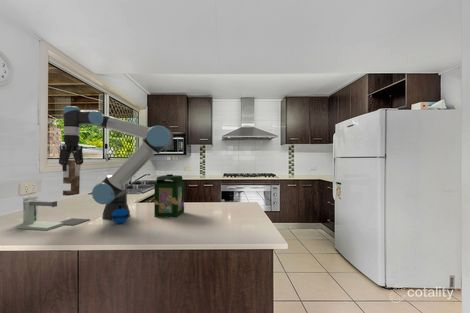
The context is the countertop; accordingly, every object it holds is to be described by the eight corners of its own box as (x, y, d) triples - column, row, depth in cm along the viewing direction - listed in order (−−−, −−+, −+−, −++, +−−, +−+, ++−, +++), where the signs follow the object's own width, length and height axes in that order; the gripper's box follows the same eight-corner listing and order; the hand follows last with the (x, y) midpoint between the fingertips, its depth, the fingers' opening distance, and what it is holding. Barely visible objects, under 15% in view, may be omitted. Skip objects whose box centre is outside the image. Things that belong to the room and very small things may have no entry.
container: (151, 217, 156) (151, 175, 156) (163, 211, 174) (163, 173, 174) (175, 218, 154) (175, 175, 154) (184, 211, 172) (185, 173, 172)
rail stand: (63, 225, 139) (63, 199, 139) (47, 230, 129) (46, 203, 129) (35, 223, 142) (35, 198, 142) (16, 228, 132) (16, 202, 132)
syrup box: (22, 224, 140) (22, 197, 140) (25, 221, 145) (25, 195, 145) (36, 223, 143) (35, 196, 143) (38, 220, 148) (38, 194, 148)
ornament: (121, 226, 137) (121, 207, 137) (107, 224, 140) (107, 206, 140) (132, 222, 146) (132, 204, 146) (119, 220, 148) (119, 203, 148)
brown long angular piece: (79, 194, 147) (80, 160, 147) (69, 195, 140) (70, 160, 140) (73, 193, 148) (73, 160, 148) (62, 195, 141) (63, 160, 141)
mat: (90, 220, 150) (90, 219, 150) (73, 225, 138) (73, 224, 138) (71, 218, 152) (71, 218, 152) (54, 224, 140) (54, 223, 140)
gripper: (79, 136, 154) (79, 175, 154) (49, 133, 135) (49, 178, 135) (90, 136, 153) (90, 175, 153) (62, 133, 133) (62, 178, 134)
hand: (71, 176), depth 144 cm, fingers closed on brown long angular piece, 7 cm apart
